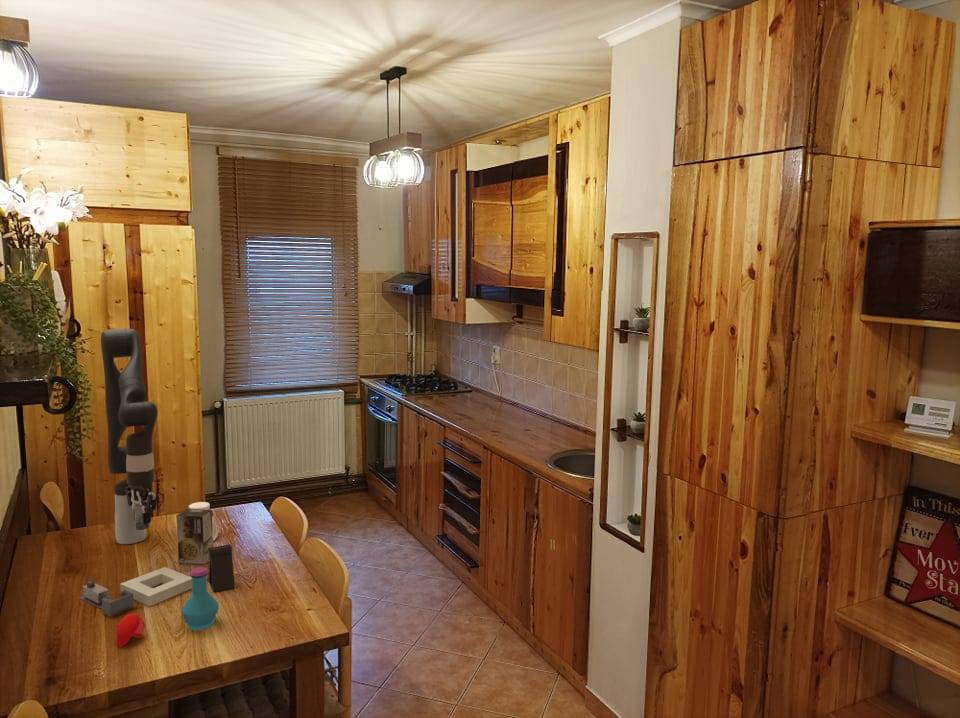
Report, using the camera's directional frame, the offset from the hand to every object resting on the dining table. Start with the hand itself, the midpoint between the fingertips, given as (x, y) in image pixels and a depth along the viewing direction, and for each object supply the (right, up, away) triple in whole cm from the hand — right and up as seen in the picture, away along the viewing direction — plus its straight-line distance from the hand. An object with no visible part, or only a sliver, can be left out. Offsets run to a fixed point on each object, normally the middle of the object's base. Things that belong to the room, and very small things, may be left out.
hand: (142, 521), depth 209 cm
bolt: (-6, -19, -14) cm, 24 cm away
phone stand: (+25, -18, -3) cm, 32 cm away
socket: (+8, -18, -8) cm, 22 cm away
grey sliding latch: (-3, -19, -16) cm, 25 cm away
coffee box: (+10, -16, +14) cm, 24 cm away
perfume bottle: (+29, -21, -26) cm, 44 cm away
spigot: (0, -2, 0) cm, 2 cm away
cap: (+14, -22, -35) cm, 43 cm away
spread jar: (+5, -14, +33) cm, 36 cm away
